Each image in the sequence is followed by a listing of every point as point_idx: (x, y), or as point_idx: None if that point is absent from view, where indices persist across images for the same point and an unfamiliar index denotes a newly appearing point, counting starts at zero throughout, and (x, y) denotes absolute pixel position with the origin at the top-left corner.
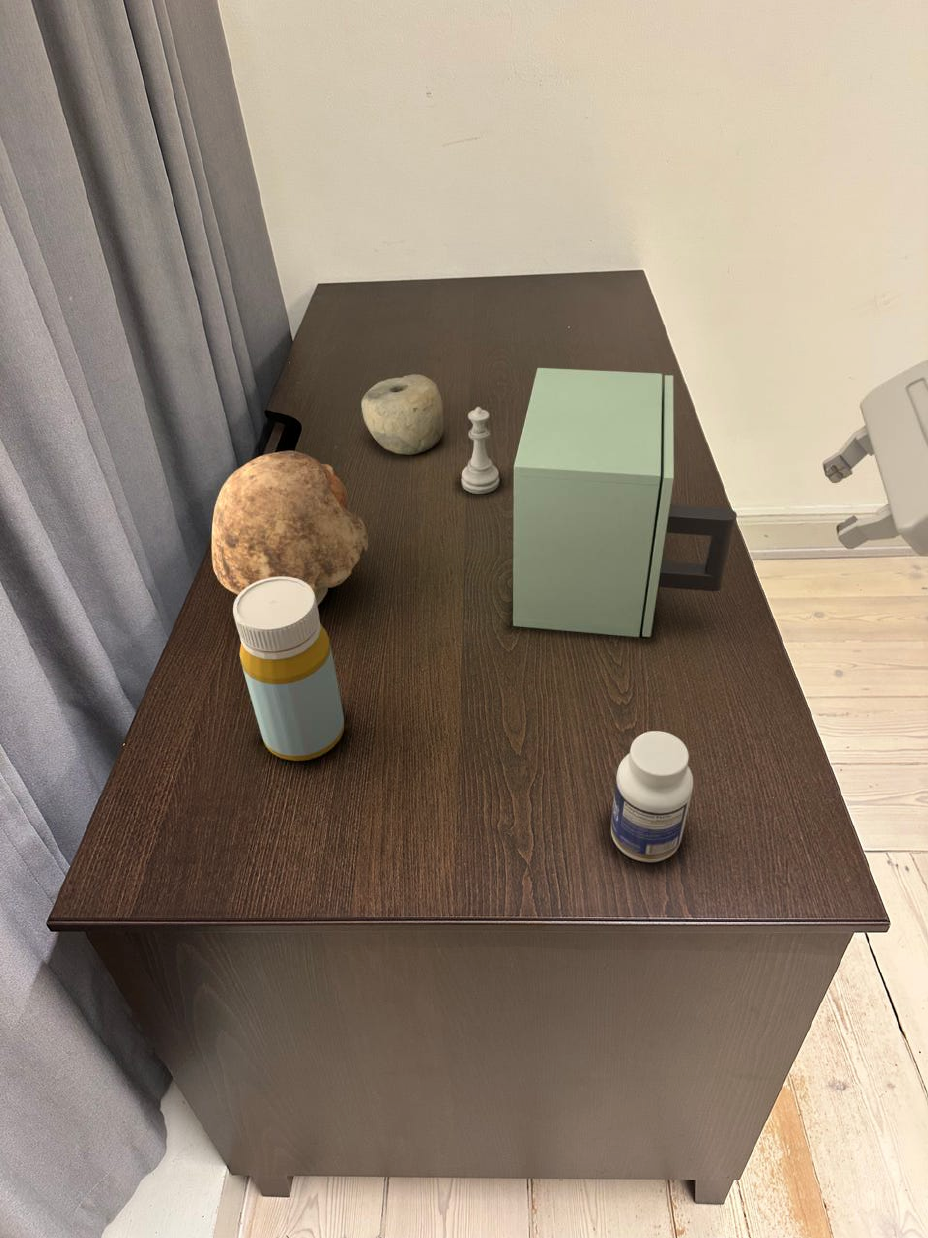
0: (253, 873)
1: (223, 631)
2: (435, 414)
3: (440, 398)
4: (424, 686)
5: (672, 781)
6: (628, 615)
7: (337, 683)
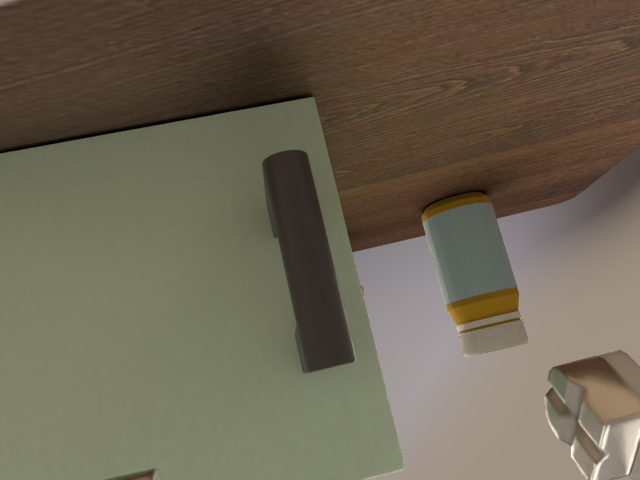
0: (579, 175)
1: None
2: None
3: None
4: (406, 186)
5: None
6: None
7: (464, 247)
